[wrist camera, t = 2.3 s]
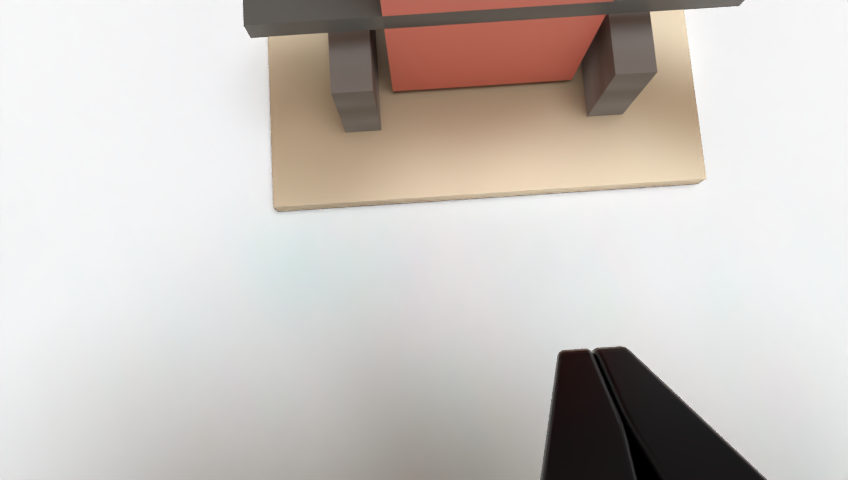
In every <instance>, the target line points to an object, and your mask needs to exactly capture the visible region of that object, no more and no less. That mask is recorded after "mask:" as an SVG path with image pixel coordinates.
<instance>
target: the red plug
mask: <svg viewBox="0 0 848 480" xmlns="http://www.w3.org/2000/svg"><path fill="white" fill-rule="evenodd" d="M743 1H744V0H243V15H244V27H245V28H246V30H247V32H248V34H249V35H250V37H251V38H256V37H271V36H287V35H302V34H317V33H332V32H348V31H363V30H378V29H384V31H385V38H386V45H387V53H388V60H389V67H390V74H391V81H392V88H393V91H408V90H424V89H439V88H454V87H469V86H484V85H500V84H515V83H530V82H545V81H560V80H572V78H573V76H574V74H575V73H576V71H577V69H578V67H579V65H580V63H581V61H582V59H583V57H584V56H585V54H586V52H587V50H588V48H589V46H590V44H591V42H592V40H593V38H594V37H595V35H596V33H597V31H598V29H599V27H600V25H601V23H602V21H603V20H604V18H605V16H606V15H607V14H623V13H638V12H653V11H668V10H684V9H699V8H714V7H729V6H739V5H740V4H741V3H742V2H743Z"/></svg>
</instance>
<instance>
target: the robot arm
mask: <svg viewBox="0 0 848 480" xmlns="http://www.w3.org/2000/svg"><path fill="white" fill-rule="evenodd" d="M540 480H767V479H766V478H765V477H764V476H763V475H761V474H760V473H759V472H758V471H757V470H756V469H755V468H754V467H753V466H752V465H751V464H750V463H749V462H748V461H747V460H746V459H744V458H743V457H742V456H741V455H740V454H739V453H738V452H737V451H736V450H735V449H734V448H733V447H732V446H731V445H730V444H729V443H728V442H726V441H725V440H724V439H723V438H722V437H721V436H720V435H719V434H718V433H717V432H716V431H715V430H714V429H713V428H712V427H711V426H709V425H708V424H707V423H706V422H705V421H704V420H703V419H702V418H701V417H700V416H699V415H698V414H697V413H696V412H695V411H694V410H692V409H691V408H690V407H689V406H688V405H687V404H686V403H685V402H684V401H683V400H682V399H681V398H680V397H679V396H678V395H677V394H675V393H674V392H673V391H672V390H671V389H670V388H669V387H668V386H667V385H666V384H665V383H664V382H663V381H662V380H661V379H660V378H659V377H657V376H656V375H655V374H654V373H653V372H652V371H651V370H650V369H649V368H648V367H647V366H646V365H645V364H644V363H643V362H642V361H640V360H639V359H638V358H637V357H636V356H635V355H634V354H633V353H632V352H631V351H630V350H629V349H627V348H625V347H621V346H619V347H604V348H596V349H594V350H593V351H592V352H591V351H590V350H589V349H574V350H562V351H560V352H559V353H558V357H557V364H556V371H555V378H554V385H553V392H552V400H551V407H550V414H549V421H548V428H547V435H546V443H545V450H544V457H543V464H542V471H541V478H540Z"/></svg>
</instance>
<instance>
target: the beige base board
mask: <svg viewBox="0 0 848 480" xmlns="http://www.w3.org/2000/svg"><path fill="white" fill-rule="evenodd" d="M268 54H269V84H270V115H271V146H272V177H273V207H274V208H275V209H276V210H277V211H293V210H308V209H323V208H338V207H353V206H368V205H383V204H398V203H414V202H429V201H444V200H459V199H474V198H489V197H504V196H519V195H534V194H549V193H564V192H579V191H595V190H610V189H625V188H640V187H655V186H670V185H685V184H698V183H700V182H701V181H703V180H705V179H706V172H705V165H704V157H703V150H702V142H701V135H700V127H699V120H698V113H697V105H696V98H695V90H694V83H693V75H692V68H691V60H690V53H689V45H688V38H687V30H686V23H685V15H684V10H668V11H653V12H638V13H623V14H607V15H606V16H605V18H604V20H603V21H602V23H601V25H600V27H599V29H598V31H597V33H596V35H595V37H594V38H593V40H592V42H591V44H590V46H589V48H588V50H587V52H586V54H585V56H584V57H583V59H582V61H581V63H580V65H579V67H578V69H577V71H576V73H575V74H574V76H573V78H572V80H560V81H545V82H530V83H515V84H500V85H484V86H469V87H454V88H439V89H424V90H408V91H393V88H392V81H391V74H390V67H389V60H388V53H387V45H386V38H385V31H384V29H378V30H363V31H348V32H332V33H317V34H302V35H287V36H271V37H268Z"/></svg>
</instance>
